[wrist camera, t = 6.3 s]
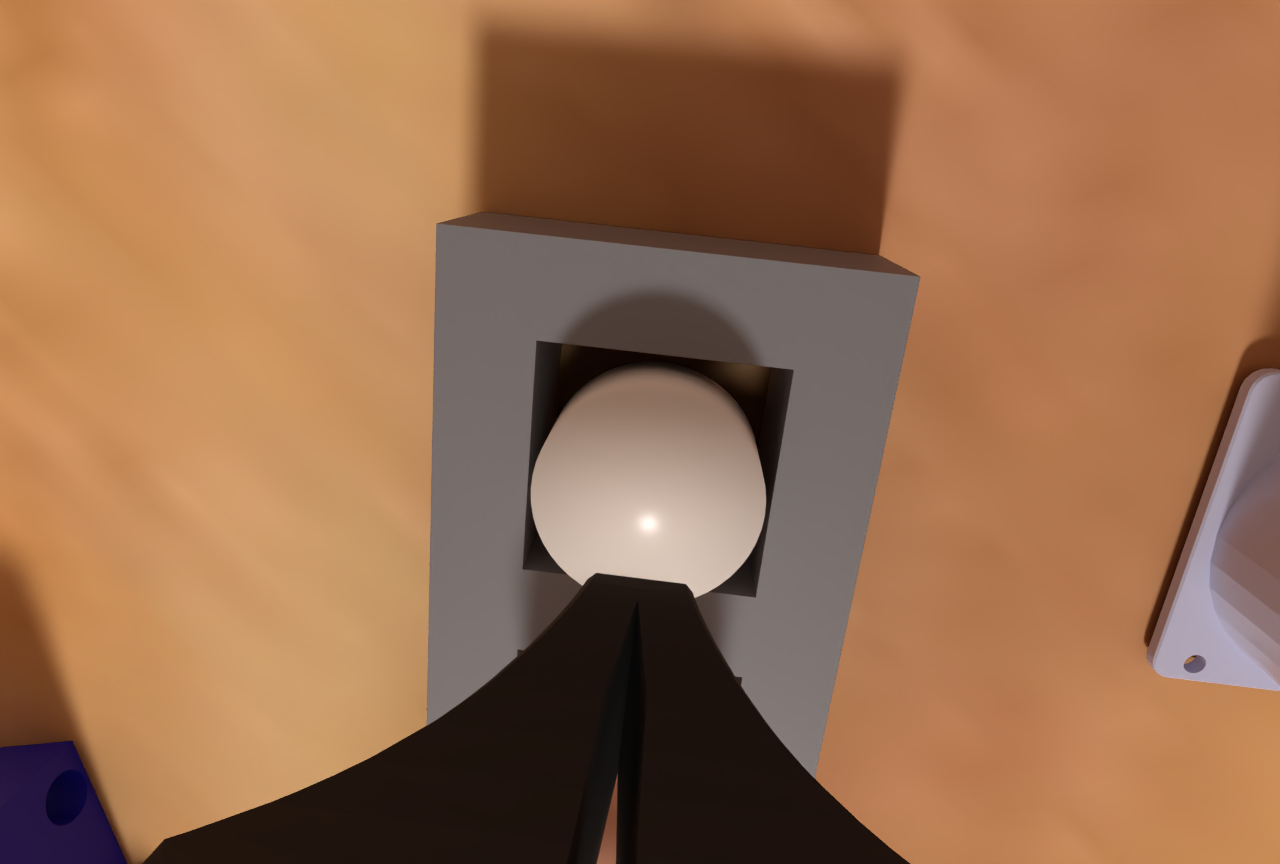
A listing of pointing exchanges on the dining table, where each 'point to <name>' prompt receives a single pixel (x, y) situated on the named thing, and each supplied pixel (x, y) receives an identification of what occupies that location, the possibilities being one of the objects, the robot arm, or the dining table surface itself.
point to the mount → (676, 326)
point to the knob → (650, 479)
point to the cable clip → (51, 809)
